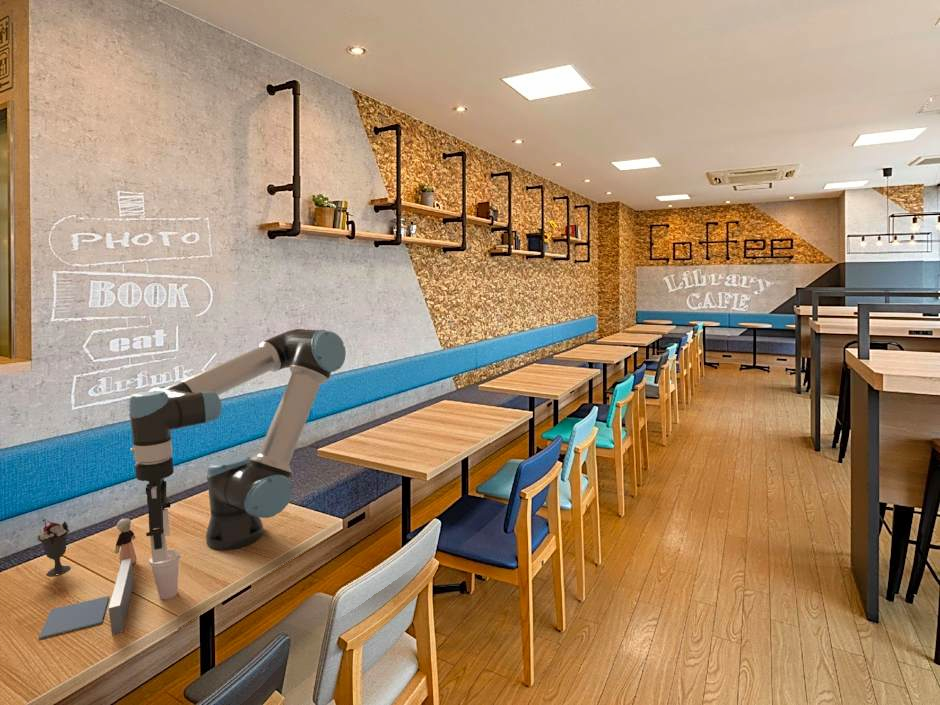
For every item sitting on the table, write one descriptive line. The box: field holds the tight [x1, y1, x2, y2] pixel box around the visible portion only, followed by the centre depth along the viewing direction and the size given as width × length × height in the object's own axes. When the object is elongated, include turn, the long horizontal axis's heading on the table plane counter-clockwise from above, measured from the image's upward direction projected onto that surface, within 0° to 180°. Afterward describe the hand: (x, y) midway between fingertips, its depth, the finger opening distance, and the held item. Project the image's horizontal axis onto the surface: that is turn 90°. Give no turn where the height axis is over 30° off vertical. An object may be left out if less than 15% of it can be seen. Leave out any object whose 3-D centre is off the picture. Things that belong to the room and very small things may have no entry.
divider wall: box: [108, 559, 135, 635], centre depth 124 cm, size 2×22×6 cm, turn 26°
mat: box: [38, 595, 110, 640], centre depth 121 cm, size 11×11×1 cm
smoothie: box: [148, 538, 181, 600], centre depth 128 cm, size 6×6×14 cm
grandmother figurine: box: [114, 518, 138, 569], centre depth 142 cm, size 8×4×13 cm, turn 12°
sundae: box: [36, 518, 71, 576], centre depth 140 cm, size 7×7×15 cm
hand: (161, 548), depth 127 cm, fingers open, 13 cm apart
